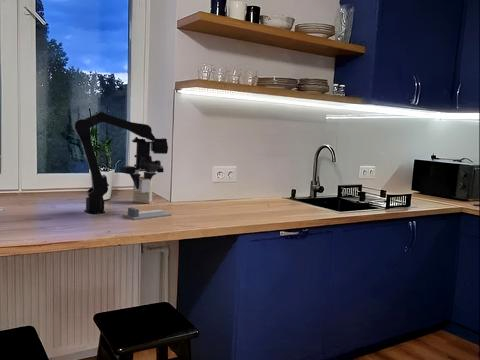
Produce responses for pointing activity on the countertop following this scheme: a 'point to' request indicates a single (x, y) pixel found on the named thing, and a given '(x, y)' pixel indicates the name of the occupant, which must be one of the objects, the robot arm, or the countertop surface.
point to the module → (143, 185)
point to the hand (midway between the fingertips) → (141, 188)
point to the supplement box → (143, 194)
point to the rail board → (144, 214)
